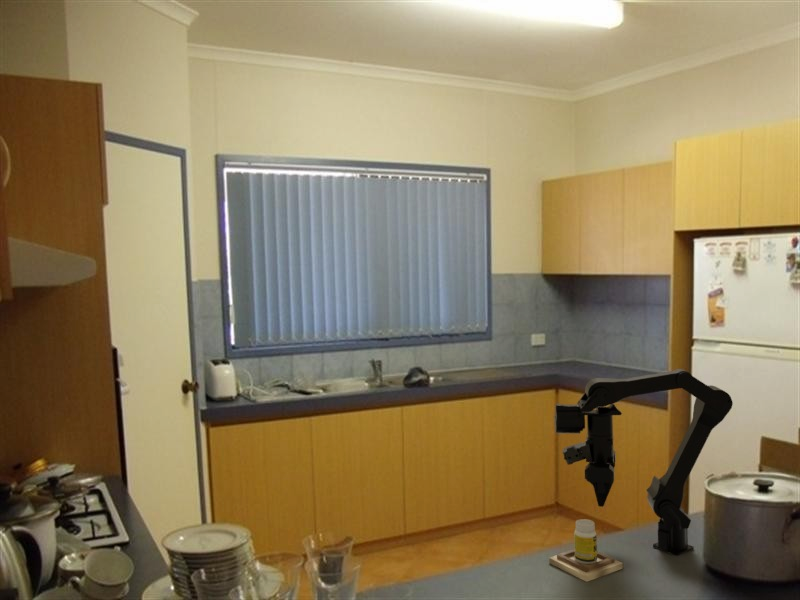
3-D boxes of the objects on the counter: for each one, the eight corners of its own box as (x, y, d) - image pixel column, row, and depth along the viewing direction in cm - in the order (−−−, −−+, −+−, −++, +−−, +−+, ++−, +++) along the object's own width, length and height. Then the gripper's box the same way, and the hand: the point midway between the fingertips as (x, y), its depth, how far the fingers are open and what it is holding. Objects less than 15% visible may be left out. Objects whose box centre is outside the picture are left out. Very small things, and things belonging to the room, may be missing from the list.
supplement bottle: (598, 565, 140) (597, 526, 140) (575, 564, 141) (574, 525, 141) (596, 556, 145) (595, 518, 145) (574, 554, 146) (573, 517, 146)
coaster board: (584, 551, 151) (584, 542, 150) (622, 568, 141) (622, 559, 141) (549, 563, 145) (548, 554, 145) (586, 581, 135) (586, 572, 135)
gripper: (568, 423, 164) (569, 484, 164) (560, 441, 146) (562, 510, 146) (614, 425, 160) (616, 488, 160) (613, 444, 142) (614, 514, 143)
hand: (601, 499), depth 153 cm, fingers open, 9 cm apart
